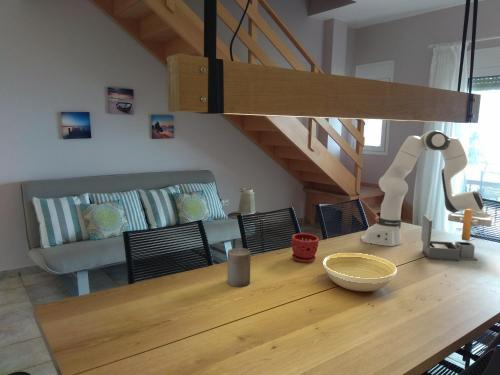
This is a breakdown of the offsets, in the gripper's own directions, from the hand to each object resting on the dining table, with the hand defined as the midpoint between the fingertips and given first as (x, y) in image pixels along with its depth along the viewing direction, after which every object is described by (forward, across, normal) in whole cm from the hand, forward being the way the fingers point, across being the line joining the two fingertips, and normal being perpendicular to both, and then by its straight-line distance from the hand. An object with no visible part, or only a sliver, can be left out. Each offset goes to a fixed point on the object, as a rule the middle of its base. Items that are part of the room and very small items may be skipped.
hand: (467, 222), depth 197 cm
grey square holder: (-1, 0, +19) cm, 19 cm away
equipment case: (+6, -10, +19) cm, 22 cm away
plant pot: (+60, -60, +18) cm, 87 cm away
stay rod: (-1, 0, +10) cm, 10 cm away
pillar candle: (+103, -66, +18) cm, 124 cm away
